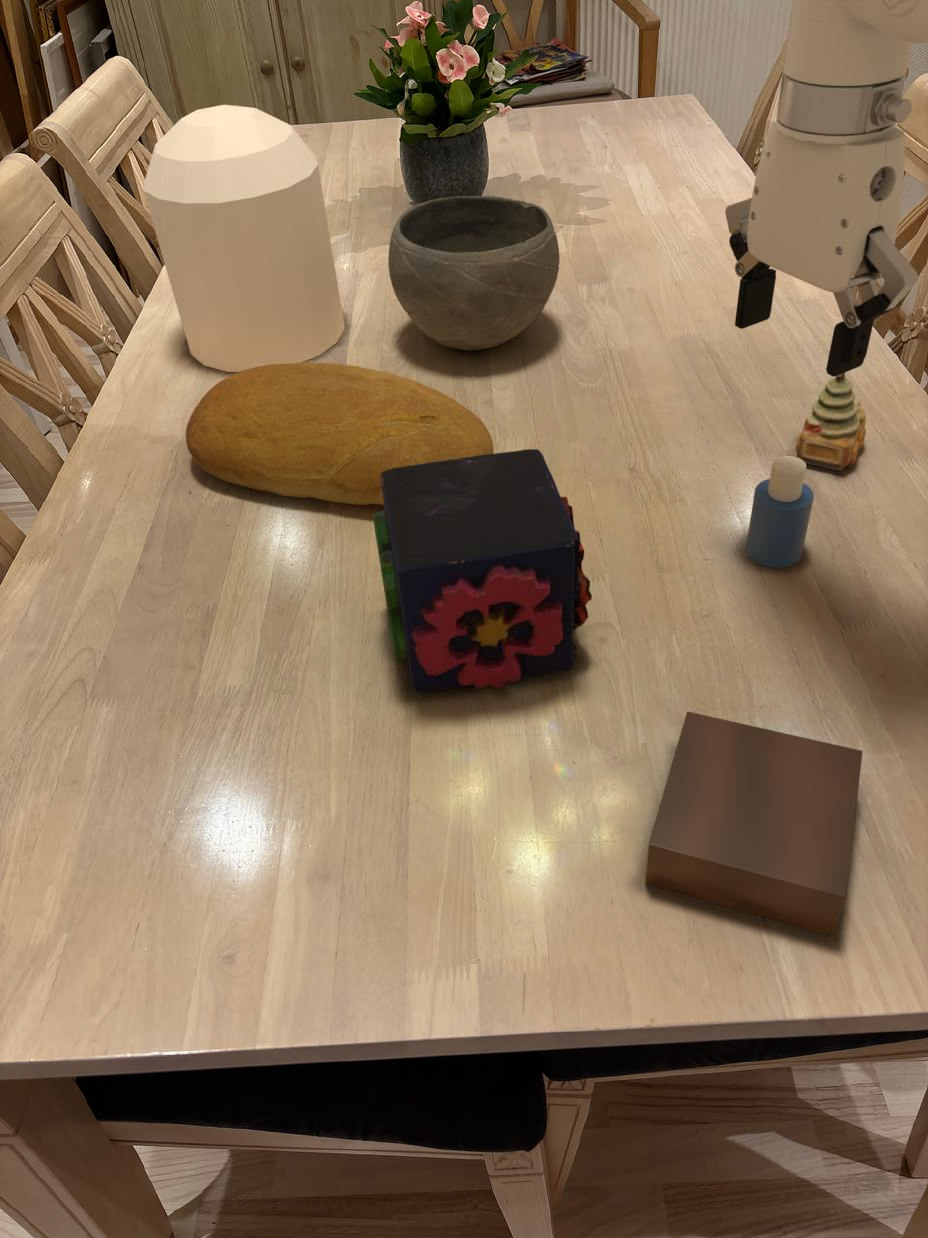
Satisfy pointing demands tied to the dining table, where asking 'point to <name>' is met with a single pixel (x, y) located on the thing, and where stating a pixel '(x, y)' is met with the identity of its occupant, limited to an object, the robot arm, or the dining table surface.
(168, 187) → the container
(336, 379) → the bread
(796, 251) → the robot arm
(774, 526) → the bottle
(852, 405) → the ornament
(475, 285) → the bowl
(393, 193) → the dining table surface
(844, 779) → the block
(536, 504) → the decorative cube
